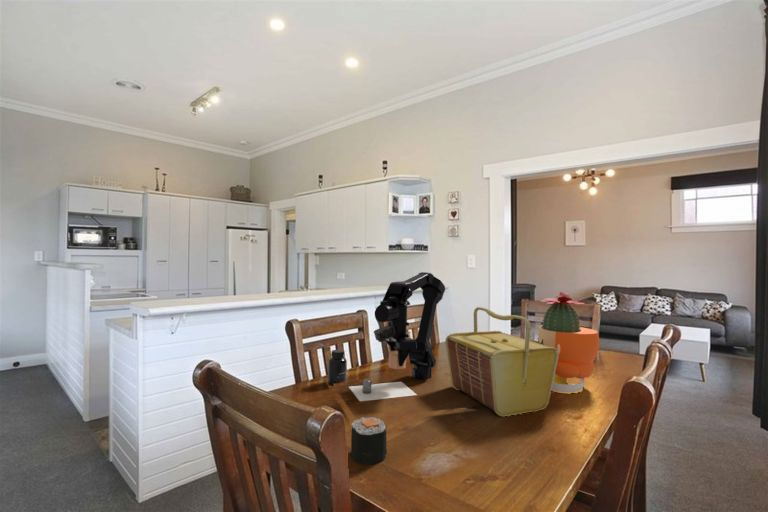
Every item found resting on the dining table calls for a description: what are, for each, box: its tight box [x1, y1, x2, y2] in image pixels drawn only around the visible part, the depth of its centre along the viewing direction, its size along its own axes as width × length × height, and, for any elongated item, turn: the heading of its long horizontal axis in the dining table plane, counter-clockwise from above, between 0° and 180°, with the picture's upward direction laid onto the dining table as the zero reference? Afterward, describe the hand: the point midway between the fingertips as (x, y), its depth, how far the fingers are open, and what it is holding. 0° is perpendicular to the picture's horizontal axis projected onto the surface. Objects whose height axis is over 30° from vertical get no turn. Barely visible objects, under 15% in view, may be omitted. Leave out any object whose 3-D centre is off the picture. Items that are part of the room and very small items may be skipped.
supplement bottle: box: [327, 349, 348, 387], centre depth 143 cm, size 7×7×12 cm
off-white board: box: [348, 381, 418, 402], centre depth 132 cm, size 20×14×2 cm
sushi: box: [350, 416, 388, 466], centre depth 92 cm, size 8×8×8 cm
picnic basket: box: [445, 306, 559, 418], centre depth 130 cm, size 29×26×30 cm
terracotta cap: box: [388, 350, 407, 370], centre depth 134 cm, size 6×6×5 cm
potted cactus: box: [537, 291, 601, 392], centre depth 147 cm, size 22×22×35 cm
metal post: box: [362, 378, 372, 394], centre depth 130 cm, size 3×3×4 cm
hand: (397, 363), depth 134 cm, fingers closed on terracotta cap, 6 cm apart
